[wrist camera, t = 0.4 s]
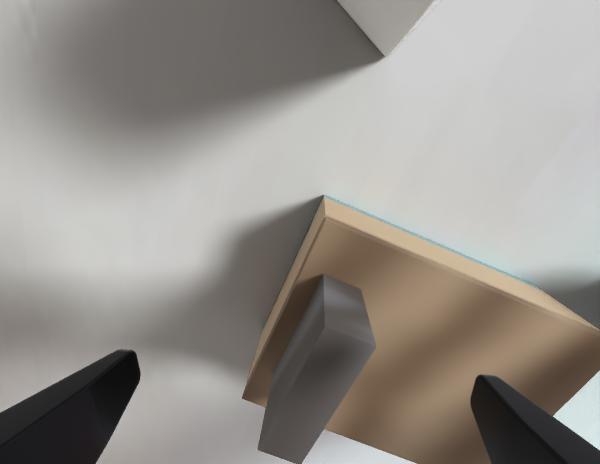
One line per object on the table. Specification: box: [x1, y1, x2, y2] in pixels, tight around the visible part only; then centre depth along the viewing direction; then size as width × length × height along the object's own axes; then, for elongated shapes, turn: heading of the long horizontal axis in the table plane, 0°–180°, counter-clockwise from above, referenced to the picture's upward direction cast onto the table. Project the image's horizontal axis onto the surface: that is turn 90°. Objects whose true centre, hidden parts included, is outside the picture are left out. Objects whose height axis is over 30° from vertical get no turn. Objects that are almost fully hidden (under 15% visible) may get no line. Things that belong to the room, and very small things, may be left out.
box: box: [247, 195, 600, 383], centre depth 18 cm, size 16×12×5 cm
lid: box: [242, 216, 600, 464], centre depth 14 cm, size 16×12×5 cm
